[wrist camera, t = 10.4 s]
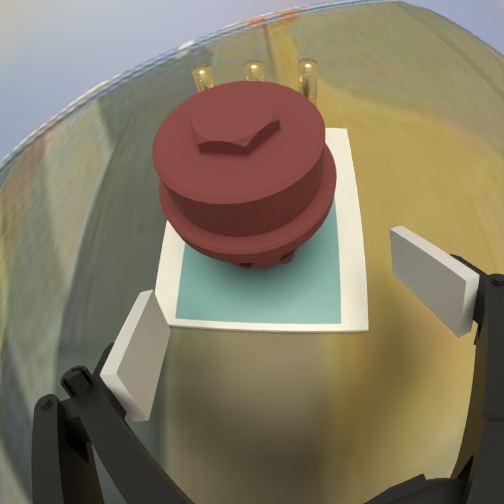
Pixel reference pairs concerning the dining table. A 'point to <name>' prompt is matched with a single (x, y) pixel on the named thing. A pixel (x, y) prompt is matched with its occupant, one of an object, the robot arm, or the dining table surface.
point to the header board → (277, 275)
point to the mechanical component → (245, 172)
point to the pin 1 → (203, 77)
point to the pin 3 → (308, 79)
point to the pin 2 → (254, 70)
